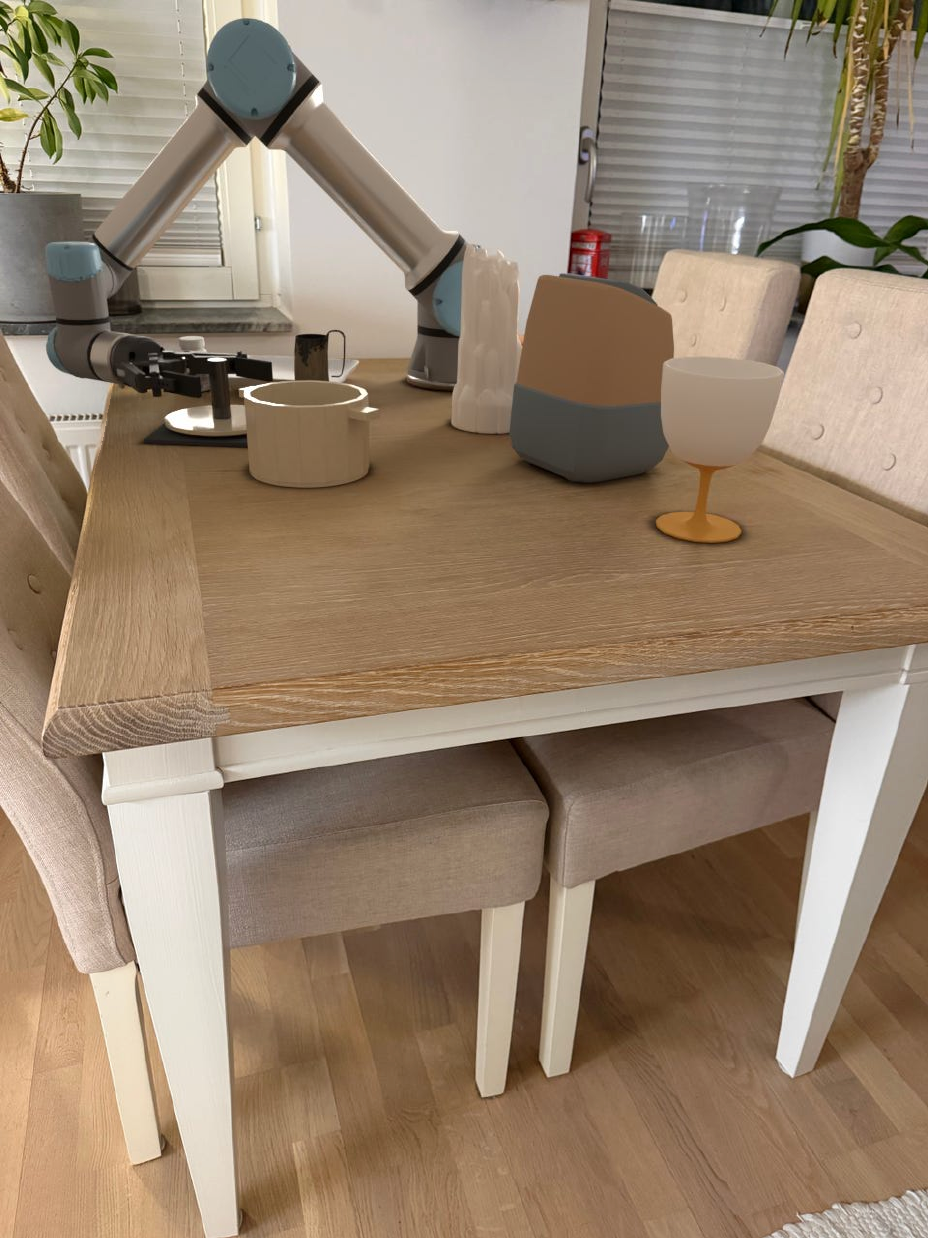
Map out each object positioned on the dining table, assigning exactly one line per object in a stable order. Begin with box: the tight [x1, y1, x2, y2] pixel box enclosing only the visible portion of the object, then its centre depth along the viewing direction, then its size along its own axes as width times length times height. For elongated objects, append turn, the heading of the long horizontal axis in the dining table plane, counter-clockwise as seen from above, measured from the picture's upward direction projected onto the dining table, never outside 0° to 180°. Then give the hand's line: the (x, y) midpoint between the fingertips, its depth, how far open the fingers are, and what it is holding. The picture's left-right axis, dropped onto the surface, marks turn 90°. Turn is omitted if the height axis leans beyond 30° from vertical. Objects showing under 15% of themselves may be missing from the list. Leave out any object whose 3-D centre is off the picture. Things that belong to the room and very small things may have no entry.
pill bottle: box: [178, 335, 210, 393], centre depth 148 cm, size 5×5×8 cm
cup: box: [655, 355, 785, 544], centre depth 92 cm, size 12×12×17 cm
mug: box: [293, 329, 347, 381], centre depth 137 cm, size 8×6×12 cm
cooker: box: [238, 380, 380, 489], centre depth 109 cm, size 15×20×10 cm
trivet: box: [143, 423, 248, 448], centre depth 127 cm, size 17×17×1 cm
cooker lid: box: [163, 358, 247, 436], centre depth 125 cm, size 16×16×9 cm
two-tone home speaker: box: [508, 273, 675, 484], centre depth 111 cm, size 17×17×23 cm
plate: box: [228, 354, 360, 391], centre depth 154 cm, size 21×21×3 cm
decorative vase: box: [451, 243, 522, 435], centre depth 129 cm, size 11×11×25 cm
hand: (236, 379), depth 122 cm, fingers open, 13 cm apart
